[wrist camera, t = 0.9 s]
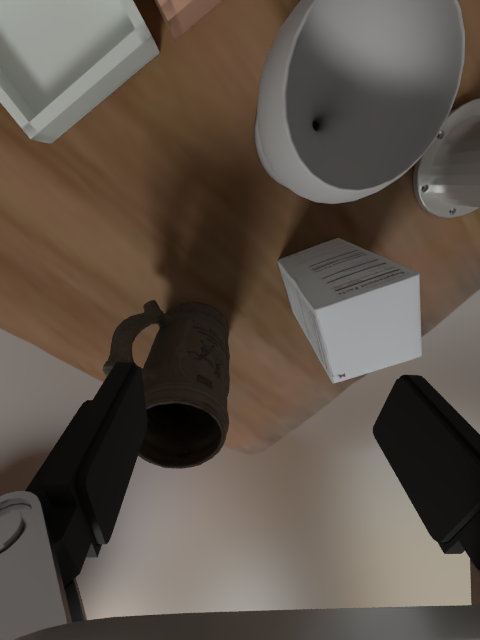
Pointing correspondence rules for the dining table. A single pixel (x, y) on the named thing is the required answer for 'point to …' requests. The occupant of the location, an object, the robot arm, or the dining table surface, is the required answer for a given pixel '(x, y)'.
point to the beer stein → (180, 382)
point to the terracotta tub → (183, 13)
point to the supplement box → (354, 307)
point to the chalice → (356, 93)
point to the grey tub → (67, 59)
